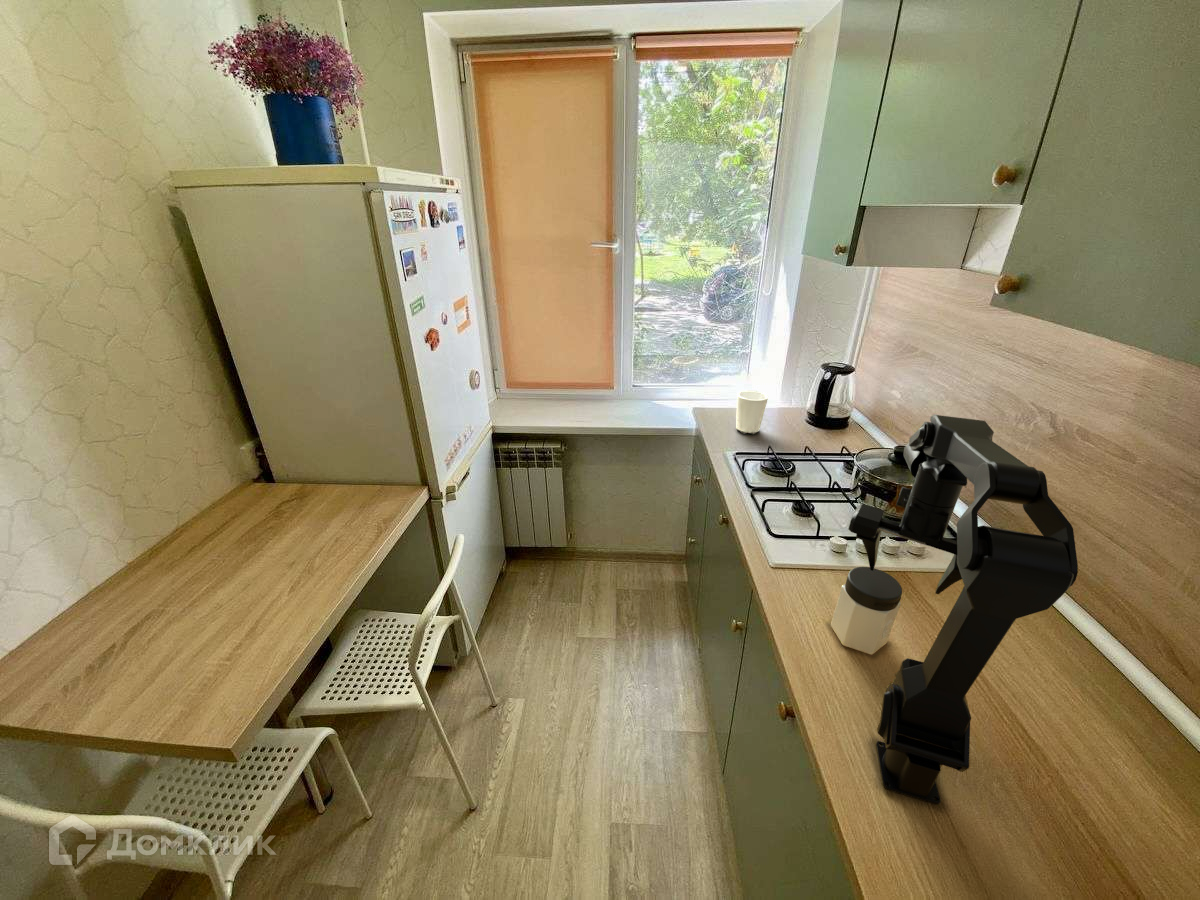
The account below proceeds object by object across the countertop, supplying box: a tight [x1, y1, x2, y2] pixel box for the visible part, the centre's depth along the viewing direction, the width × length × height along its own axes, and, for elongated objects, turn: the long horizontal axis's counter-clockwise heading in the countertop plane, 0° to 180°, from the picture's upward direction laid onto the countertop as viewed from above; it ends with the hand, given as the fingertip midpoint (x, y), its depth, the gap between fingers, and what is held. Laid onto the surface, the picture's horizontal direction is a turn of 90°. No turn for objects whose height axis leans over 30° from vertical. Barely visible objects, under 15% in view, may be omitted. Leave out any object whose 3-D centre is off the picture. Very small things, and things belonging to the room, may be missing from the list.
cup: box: [735, 390, 769, 435], centre depth 164 cm, size 10×10×13 cm
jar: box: [830, 566, 903, 656], centre depth 84 cm, size 9×8×12 cm
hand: (903, 580), depth 79 cm, fingers open, 9 cm apart
